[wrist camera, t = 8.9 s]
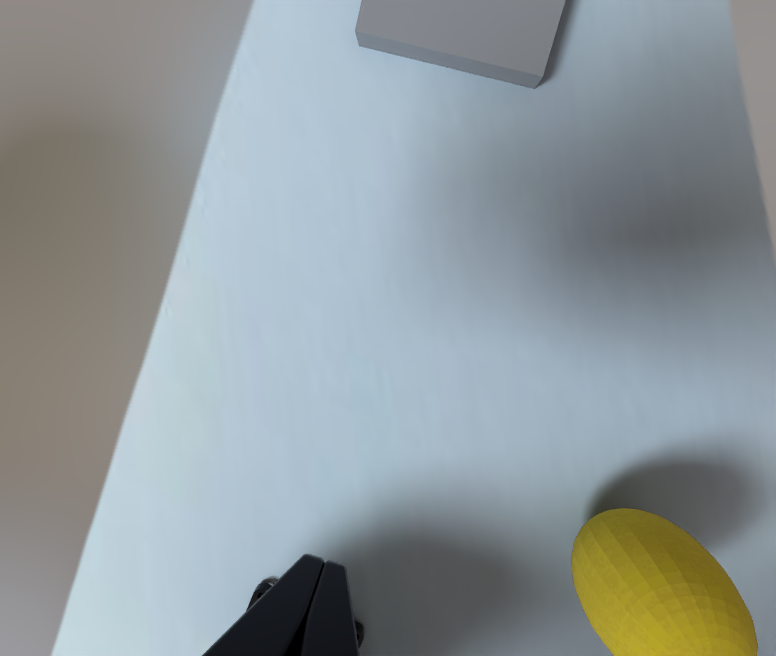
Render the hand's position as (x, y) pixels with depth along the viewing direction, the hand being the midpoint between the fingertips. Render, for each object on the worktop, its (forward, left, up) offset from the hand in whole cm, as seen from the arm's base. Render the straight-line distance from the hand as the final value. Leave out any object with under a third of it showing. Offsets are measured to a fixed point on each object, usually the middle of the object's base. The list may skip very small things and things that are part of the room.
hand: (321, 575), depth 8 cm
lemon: (-2, -13, -13) cm, 18 cm away
